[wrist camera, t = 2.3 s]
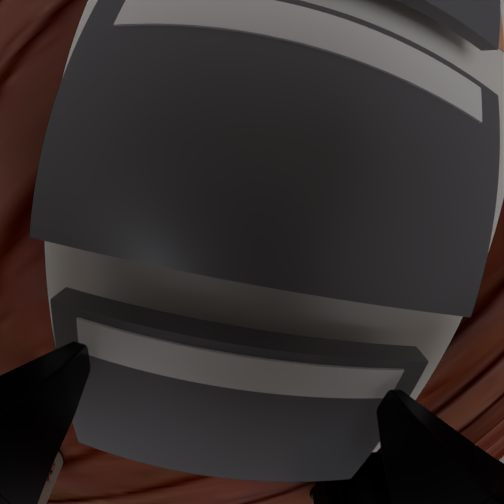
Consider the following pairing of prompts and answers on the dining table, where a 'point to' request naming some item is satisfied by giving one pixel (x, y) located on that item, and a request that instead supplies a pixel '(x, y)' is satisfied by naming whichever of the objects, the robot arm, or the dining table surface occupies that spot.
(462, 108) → the panel
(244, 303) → the switch panel
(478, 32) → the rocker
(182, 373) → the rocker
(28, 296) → the dining table surface
